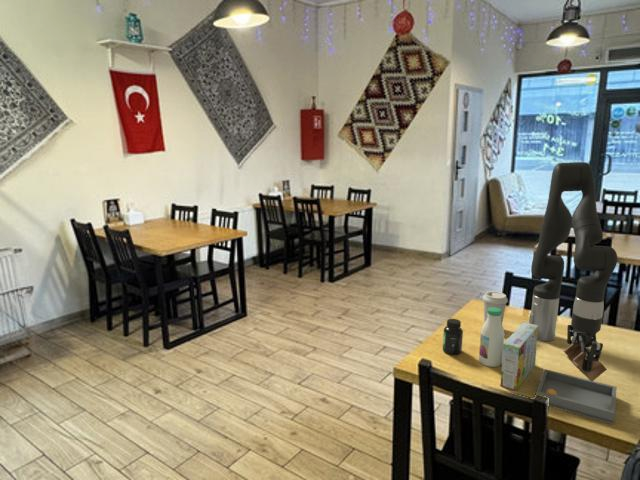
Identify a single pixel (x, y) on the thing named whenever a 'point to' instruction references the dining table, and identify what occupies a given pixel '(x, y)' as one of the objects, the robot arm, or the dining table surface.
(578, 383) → the tray
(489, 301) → the coffee cup
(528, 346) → the snack box
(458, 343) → the supplement bottle
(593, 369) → the wooden box
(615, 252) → the robot arm
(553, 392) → the ball
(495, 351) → the milk bottle
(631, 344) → the dining table surface
